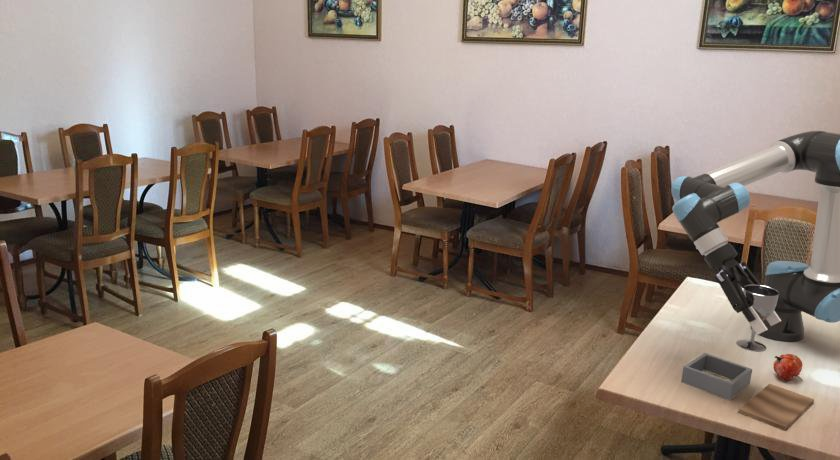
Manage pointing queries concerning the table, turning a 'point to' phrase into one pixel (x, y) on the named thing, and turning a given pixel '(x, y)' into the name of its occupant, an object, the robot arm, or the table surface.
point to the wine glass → (759, 311)
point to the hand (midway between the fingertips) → (769, 327)
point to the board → (776, 406)
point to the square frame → (712, 383)
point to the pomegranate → (787, 367)
